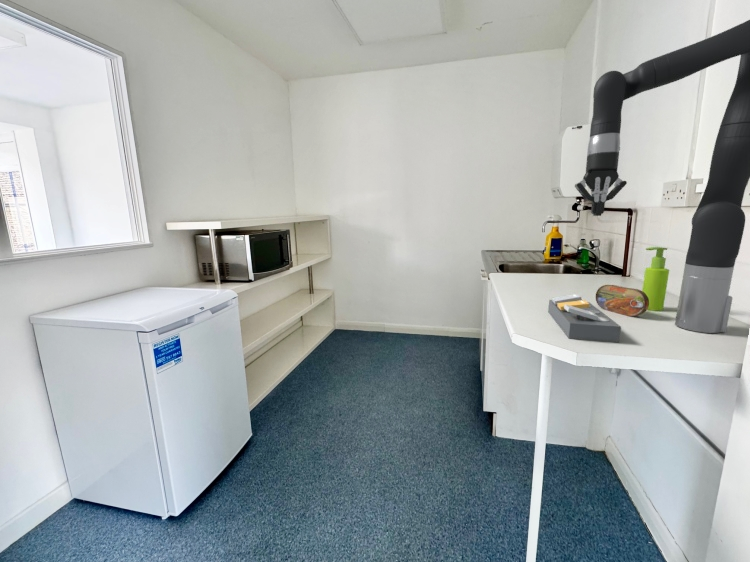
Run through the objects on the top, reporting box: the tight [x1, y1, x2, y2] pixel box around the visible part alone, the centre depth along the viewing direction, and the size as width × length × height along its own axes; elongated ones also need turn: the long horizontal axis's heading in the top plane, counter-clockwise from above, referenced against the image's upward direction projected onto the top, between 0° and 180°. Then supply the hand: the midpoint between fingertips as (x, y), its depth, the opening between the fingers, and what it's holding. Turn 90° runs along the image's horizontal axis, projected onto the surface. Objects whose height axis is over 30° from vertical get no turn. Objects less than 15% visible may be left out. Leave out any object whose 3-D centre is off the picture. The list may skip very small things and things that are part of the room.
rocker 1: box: [551, 293, 582, 305], centre depth 102 cm, size 7×4×1 cm, turn 75°
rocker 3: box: [564, 304, 598, 320], centre depth 89 cm, size 7×4×1 cm, turn 75°
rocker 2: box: [557, 299, 590, 310], centre depth 95 cm, size 7×4×1 cm, turn 75°
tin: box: [595, 284, 649, 317], centre depth 107 cm, size 15×3×8 cm, turn 20°
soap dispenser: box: [641, 246, 670, 312], centre depth 109 cm, size 6×7×20 cm
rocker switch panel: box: [547, 299, 622, 343], centre depth 95 cm, size 11×24×5 cm, turn 165°
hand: (597, 215), depth 99 cm, fingers closed
